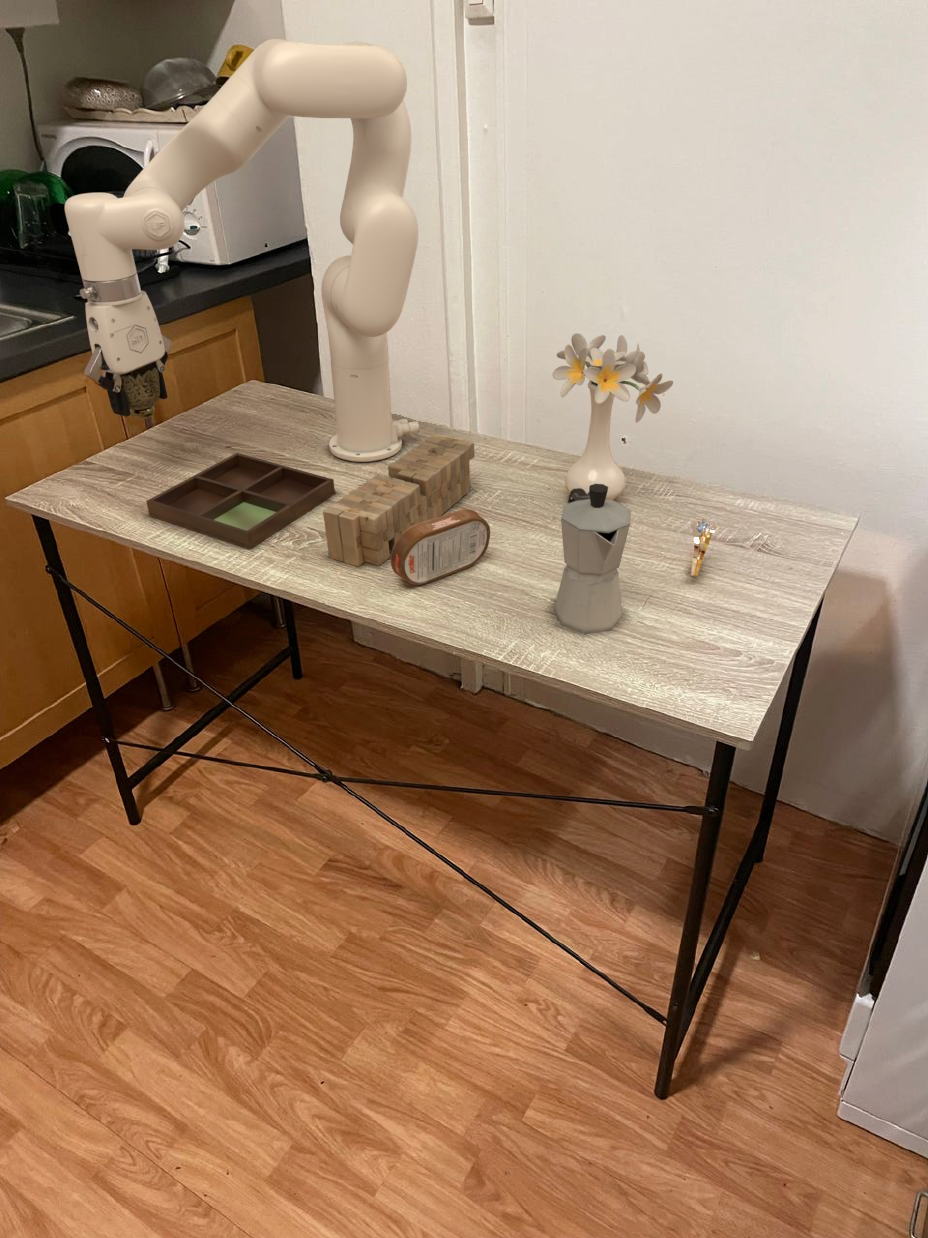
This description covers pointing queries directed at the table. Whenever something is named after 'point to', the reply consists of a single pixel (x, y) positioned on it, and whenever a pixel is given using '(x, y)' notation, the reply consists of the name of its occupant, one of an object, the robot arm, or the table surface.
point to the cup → (141, 390)
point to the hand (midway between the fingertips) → (140, 404)
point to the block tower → (398, 500)
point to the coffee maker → (591, 560)
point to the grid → (241, 499)
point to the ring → (700, 543)
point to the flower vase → (605, 404)
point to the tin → (440, 546)
